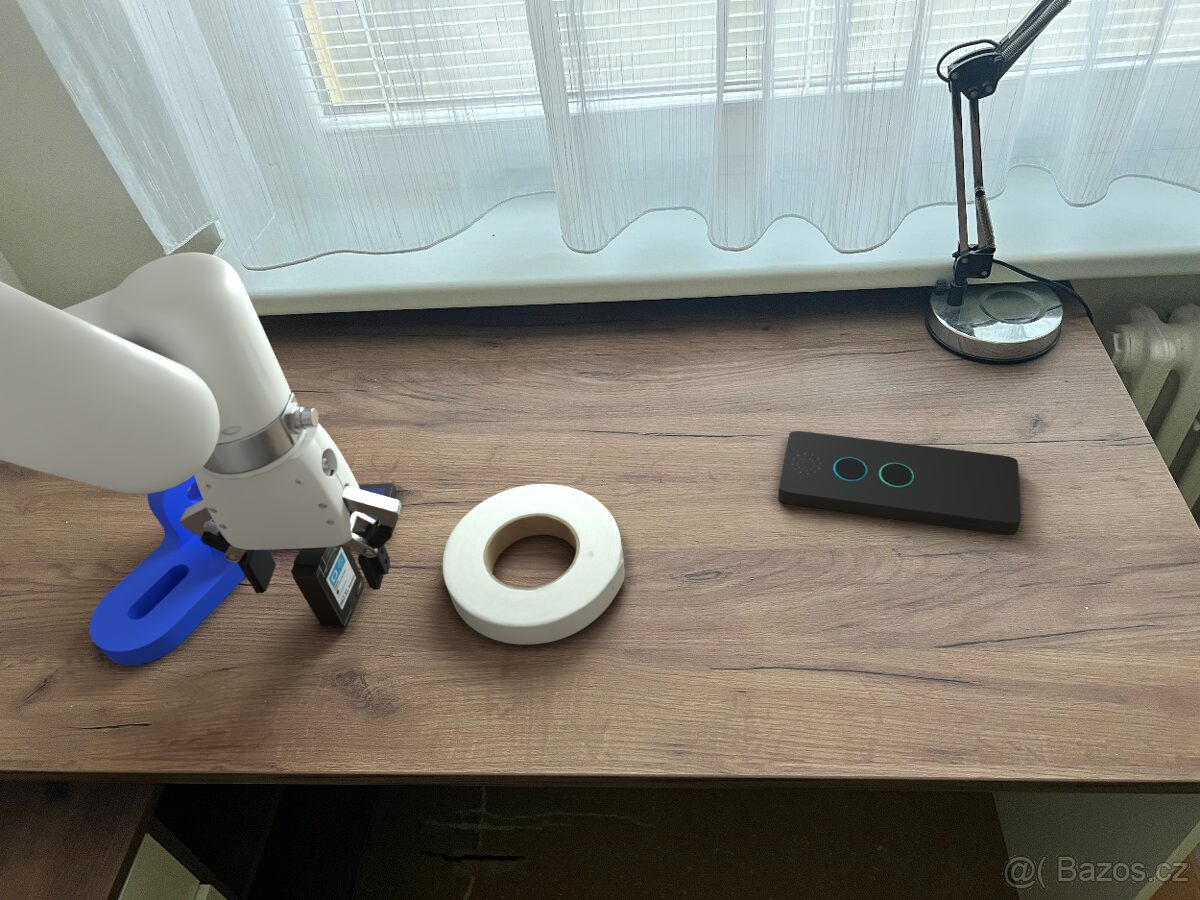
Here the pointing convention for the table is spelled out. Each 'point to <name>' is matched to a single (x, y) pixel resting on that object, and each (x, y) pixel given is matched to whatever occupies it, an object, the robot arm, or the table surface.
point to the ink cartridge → (329, 583)
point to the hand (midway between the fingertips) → (323, 577)
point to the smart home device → (902, 482)
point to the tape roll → (545, 606)
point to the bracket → (164, 588)
